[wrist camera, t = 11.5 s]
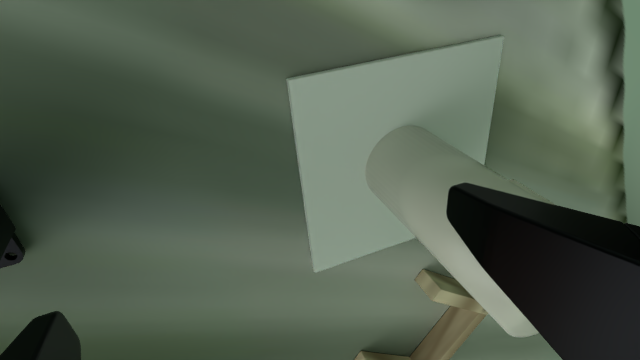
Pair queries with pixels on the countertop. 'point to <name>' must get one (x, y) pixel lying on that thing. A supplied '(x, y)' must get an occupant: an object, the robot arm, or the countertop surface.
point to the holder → (442, 320)
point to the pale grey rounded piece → (442, 208)
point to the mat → (382, 135)
